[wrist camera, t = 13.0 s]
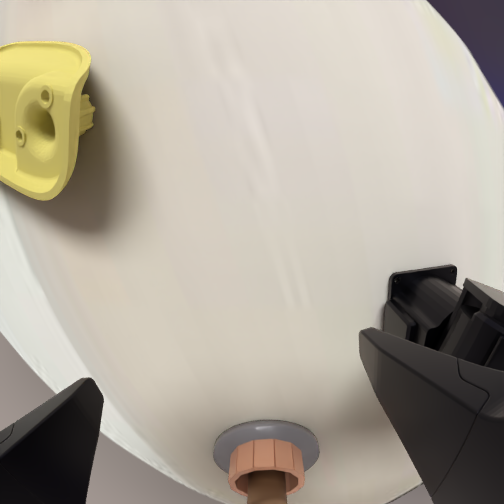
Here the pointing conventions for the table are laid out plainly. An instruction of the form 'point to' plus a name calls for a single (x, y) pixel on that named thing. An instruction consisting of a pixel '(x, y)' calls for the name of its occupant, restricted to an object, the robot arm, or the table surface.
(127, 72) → the table surface
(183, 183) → the table surface
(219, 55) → the table surface
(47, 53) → the plastic component
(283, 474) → the walnut rail post
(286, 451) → the ring
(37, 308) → the table surface
